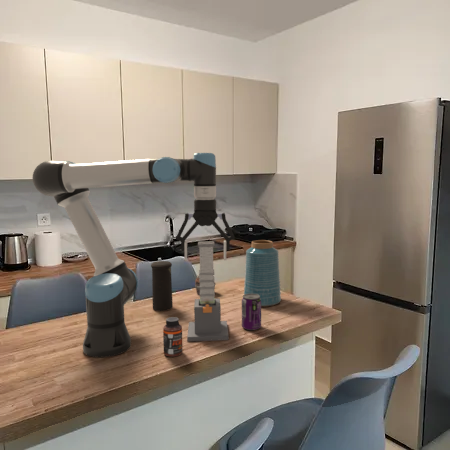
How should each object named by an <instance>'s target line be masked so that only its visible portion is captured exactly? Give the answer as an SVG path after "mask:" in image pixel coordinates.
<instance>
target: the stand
mask: <svg viewBox="0 0 450 450" xmlns="http://www.w3.org/2000/svg"><path fill="white" fill-rule="evenodd" d="M221 308H222V307H221V300H220V298H215V303H214V305H209V304H206V306H201V304H200V298H194V306H193V310H194V311H193V312H194V321H188V325H187V326H188V327H187V328H188V329H187V336H186V338H187V340H186V341H187V342H205V341H207V342H208V341H209V342H211V341H229V329H228V322H227V320H222V317H221Z"/></svg>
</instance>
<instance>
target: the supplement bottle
mask: <svg viewBox="0 0 450 450" xmlns="http://www.w3.org/2000/svg"><path fill="white" fill-rule="evenodd" d="M165 323H166V324H164V326H163V327H162V331H163V332H162V333H163V335H162V337H163V354H164V356H166V357H169V358H174V357H179V356H181V355H182V354H183V326H182V325H181V324H180V319H179V318H178V317H177V316H175V317H174V316H171V317H166V319H165Z"/></svg>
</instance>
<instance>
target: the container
mask: <svg viewBox="0 0 450 450" xmlns="http://www.w3.org/2000/svg"><path fill="white" fill-rule="evenodd" d="M172 266H173V264H172V262H170V261H168V260H167V261H166V260H159V261H157V260H156V261H154V262H152V263H151V264H150V267H151V275H152V276H151V279H152V280H151V284H152V292H151V293H152V310H153V311H155V312H165V311H169V310H171V309H173V304H174V303H173V288H172V287H173V286H172Z"/></svg>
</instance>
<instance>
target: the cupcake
mask: <svg viewBox="0 0 450 450" xmlns="http://www.w3.org/2000/svg"><path fill="white" fill-rule="evenodd" d="M199 278H200V275H199V274H198V275H196V279H195V280H194V281H195V283H194V287H195V290H196V295H197V296H198V297H200V289H199V287H200V282H199ZM214 286H215V287H216V282H215V281H214Z"/></svg>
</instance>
